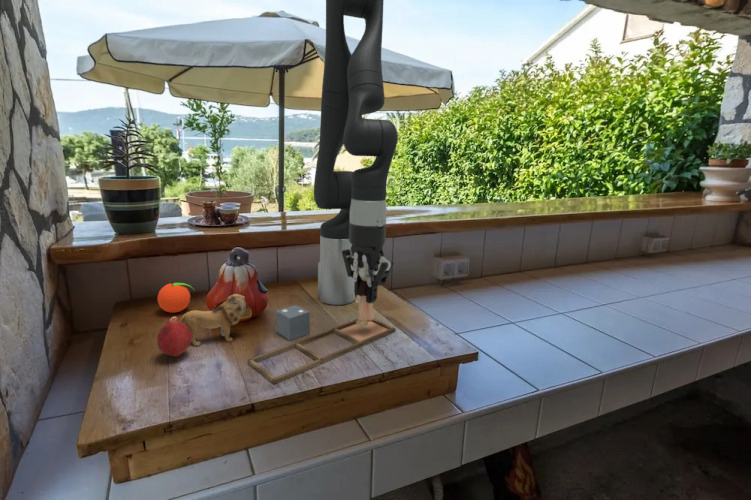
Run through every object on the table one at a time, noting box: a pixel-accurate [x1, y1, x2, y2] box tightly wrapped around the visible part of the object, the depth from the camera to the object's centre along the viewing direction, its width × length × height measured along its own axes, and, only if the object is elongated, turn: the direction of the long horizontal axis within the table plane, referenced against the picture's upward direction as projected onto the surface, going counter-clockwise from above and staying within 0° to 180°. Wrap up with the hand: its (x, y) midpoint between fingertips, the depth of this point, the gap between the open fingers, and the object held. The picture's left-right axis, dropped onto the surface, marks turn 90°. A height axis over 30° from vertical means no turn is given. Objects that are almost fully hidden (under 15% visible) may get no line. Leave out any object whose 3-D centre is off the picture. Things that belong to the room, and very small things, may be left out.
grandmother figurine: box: [354, 268, 375, 326], centre depth 88 cm, size 8×4×13 cm, turn 167°
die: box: [275, 304, 311, 341], centre depth 88 cm, size 5×5×5 cm
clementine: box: [157, 282, 195, 314], centre depth 96 cm, size 8×7×7 cm
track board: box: [247, 318, 396, 385], centre depth 83 cm, size 9×31×1 cm, turn 135°
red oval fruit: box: [156, 315, 192, 358], centre depth 76 cm, size 6×6×8 cm
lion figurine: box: [179, 293, 247, 347], centre depth 83 cm, size 15×5×9 cm, turn 121°
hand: (365, 299), depth 88 cm, fingers closed on grandmother figurine, 3 cm apart
